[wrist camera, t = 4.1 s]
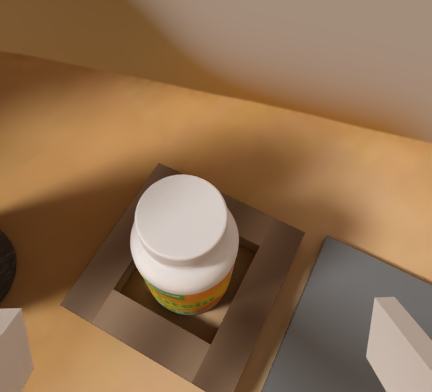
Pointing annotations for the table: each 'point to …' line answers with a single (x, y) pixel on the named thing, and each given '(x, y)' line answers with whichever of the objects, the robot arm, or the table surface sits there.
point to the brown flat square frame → (169, 332)
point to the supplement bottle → (184, 243)
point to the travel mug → (6, 265)
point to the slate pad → (342, 322)
